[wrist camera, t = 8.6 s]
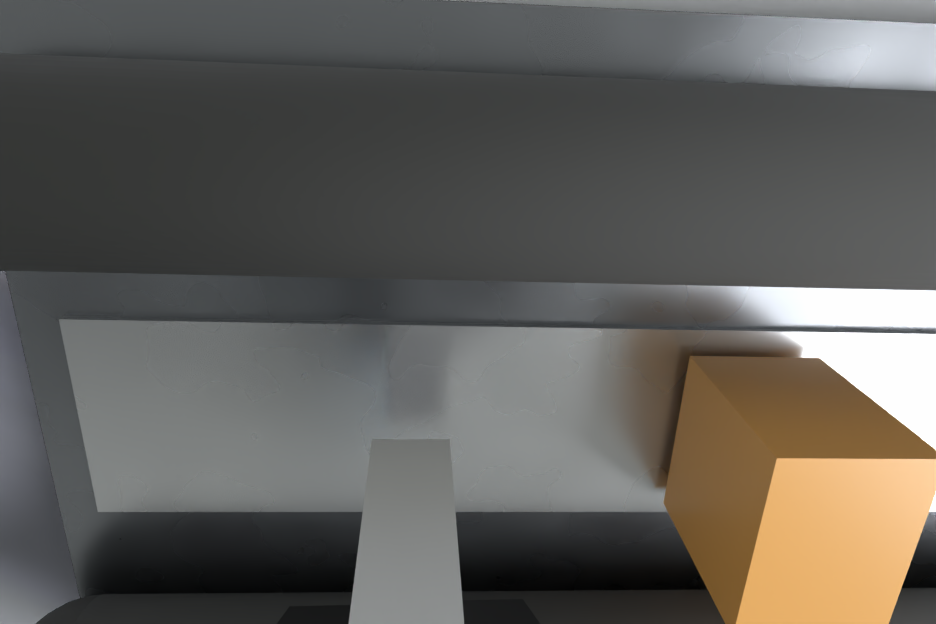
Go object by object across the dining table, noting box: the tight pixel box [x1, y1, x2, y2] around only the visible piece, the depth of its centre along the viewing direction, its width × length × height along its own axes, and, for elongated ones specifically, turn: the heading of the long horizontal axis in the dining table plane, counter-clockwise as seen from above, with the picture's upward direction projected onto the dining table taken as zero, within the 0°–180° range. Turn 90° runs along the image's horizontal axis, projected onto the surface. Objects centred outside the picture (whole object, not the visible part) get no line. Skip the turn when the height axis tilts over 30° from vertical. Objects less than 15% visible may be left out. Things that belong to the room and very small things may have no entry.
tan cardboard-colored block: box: [663, 356, 936, 624], centre depth 14 cm, size 3×4×4 cm
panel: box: [0, 0, 936, 598], centre depth 17 cm, size 26×18×2 cm
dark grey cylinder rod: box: [0, 53, 936, 291], centre depth 12 cm, size 28×4×4 cm, turn 88°
